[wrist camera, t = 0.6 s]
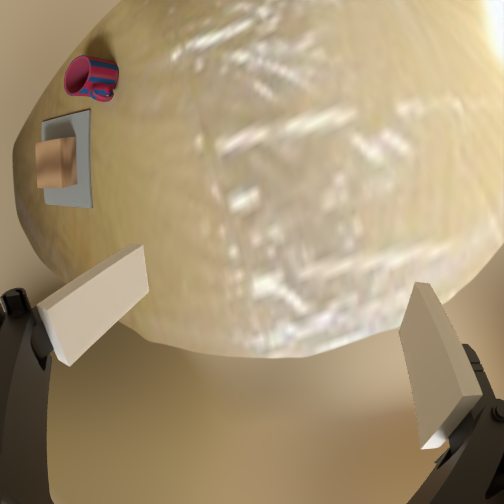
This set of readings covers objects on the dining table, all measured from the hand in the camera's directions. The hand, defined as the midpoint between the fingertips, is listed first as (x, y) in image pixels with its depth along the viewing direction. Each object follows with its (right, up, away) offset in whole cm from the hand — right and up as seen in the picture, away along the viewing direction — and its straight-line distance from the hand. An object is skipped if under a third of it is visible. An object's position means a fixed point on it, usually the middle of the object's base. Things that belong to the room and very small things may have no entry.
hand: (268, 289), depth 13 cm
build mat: (-37, +19, +32) cm, 52 cm away
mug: (-25, +29, +24) cm, 45 cm away
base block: (-37, +19, +31) cm, 52 cm away
